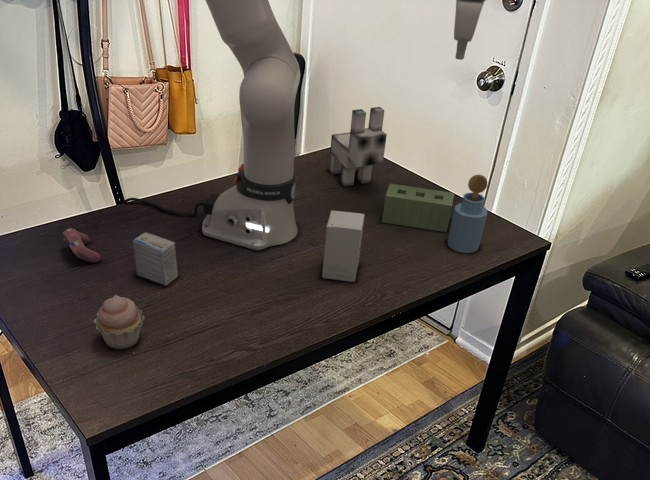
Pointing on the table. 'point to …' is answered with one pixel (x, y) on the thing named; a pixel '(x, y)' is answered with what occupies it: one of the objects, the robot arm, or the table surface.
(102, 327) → the cupcake
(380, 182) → the table surface
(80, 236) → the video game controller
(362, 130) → the blocky rabbit figurine
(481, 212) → the bottle
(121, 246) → the table surface
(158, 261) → the medicine box
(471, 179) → the spoon
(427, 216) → the stand
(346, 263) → the white packaging box
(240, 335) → the table surface
